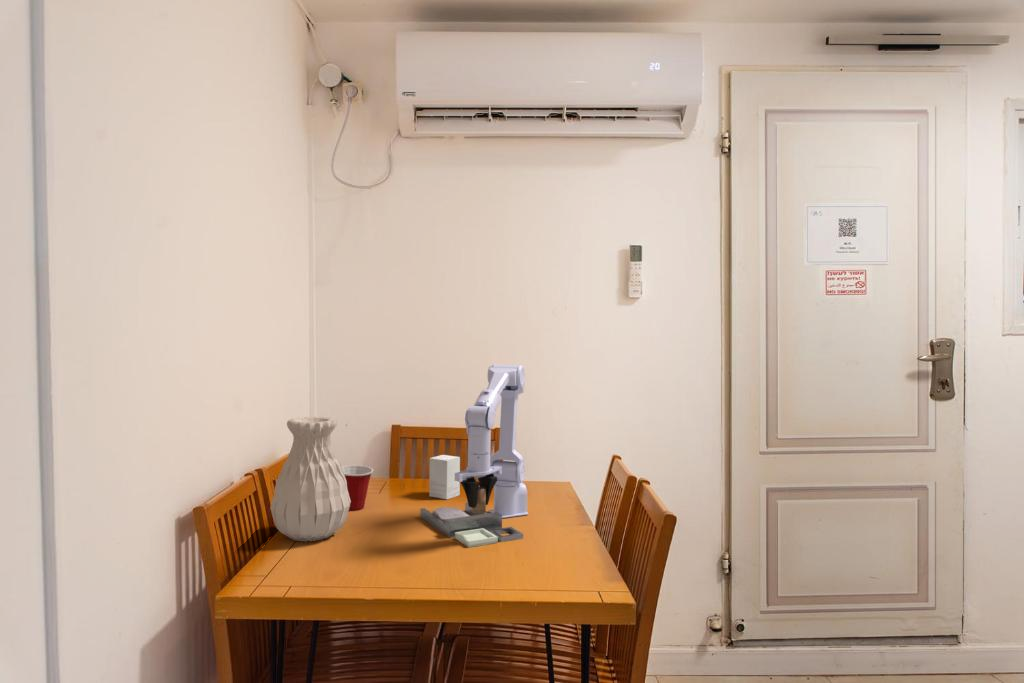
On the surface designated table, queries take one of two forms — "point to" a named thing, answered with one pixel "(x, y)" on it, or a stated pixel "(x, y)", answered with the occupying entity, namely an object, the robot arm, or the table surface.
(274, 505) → the vase
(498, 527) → the bench stop
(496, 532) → the dowel socket
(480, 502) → the dowel
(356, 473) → the plastic cup
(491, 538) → the tray
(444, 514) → the stone block
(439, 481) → the supplement box
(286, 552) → the table surface
